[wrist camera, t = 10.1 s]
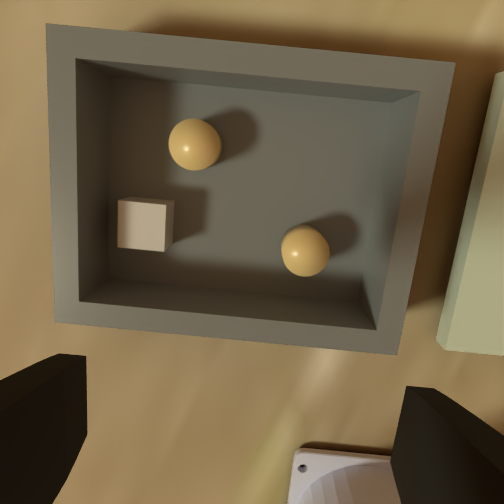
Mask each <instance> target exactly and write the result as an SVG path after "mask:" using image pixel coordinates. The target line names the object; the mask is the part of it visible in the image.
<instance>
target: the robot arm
mask: <svg viewBox="0 0 504 504" xmlns="http://www.w3.org/2000/svg"><path fill="white" fill-rule="evenodd" d="M86 436H87V376H86V356H81V355H70V354H56V355H54V356H51V357H49V358H46V359H44V360H42V361H40V362H37V363H35V364H33V365H31V366H29V367H27V368H25V369H23V370H21V371H19V372H16V373H14V374H12V375H10V376H8V377H6V378H4V379H2V380H0V504H52V503H53V502H54V500H55V498H56V497H57V495H58V493H59V492H60V490H61V488H62V487H63V485H64V483H65V481H66V480H67V478H68V476H69V474H70V471H71V469H72V467H73V465H74V463H75V461H76V459H77V456H78V454H79V452H80V450H81V447H82V445H83V443H84V441H85V438H86ZM302 464H304V465H306V466H304V467H300V465H302ZM287 504H504V435H502V434H501V433H499V432H498V431H496V430H495V429H494V428H492V427H491V426H489V425H488V424H486V423H485V422H484V421H482V420H481V419H479V418H478V417H477V416H475V415H474V414H472V413H471V412H469V411H468V410H467V409H465V408H464V407H462V406H461V405H459V404H458V403H456V402H455V401H453V400H452V399H450V398H449V397H447V396H446V395H444V394H442V393H441V392H439V391H437V390H436V389H434V388H424V387H413V386H406V390H405V395H404V400H403V404H402V409H401V413H400V418H399V423H398V427H397V432H396V436H395V441H394V446H393V450H392V455H391V456H383V455H373V454H362V453H352V452H342V451H331V450H321V449H311V448H300V449H298V450H297V451H296V452H295V454H294V459H293V466H292V473H291V480H290V487H289V494H288V501H287Z"/></svg>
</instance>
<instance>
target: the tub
mask: <svg viewBox="0 0 504 504" xmlns="http://www.w3.org/2000/svg"><path fill="white" fill-rule="evenodd" d="M46 52H47V86H48V119H49V153H50V186H51V219H52V253H53V286H54V319H55V322H56V323H67V324H77V325H87V326H98V327H108V328H119V329H129V330H139V331H150V332H160V333H170V334H181V335H191V336H201V337H212V338H222V339H233V340H243V341H253V342H264V343H274V344H284V345H295V346H305V347H315V348H326V349H336V350H347V351H357V352H367V353H378V354H388V355H397V354H398V349H399V344H400V339H401V334H402V329H403V324H404V319H405V314H406V309H407V304H408V299H409V294H410V289H411V284H412V279H413V274H414V269H415V264H416V259H417V254H418V249H419V244H420V239H421V234H422V229H423V224H424V219H425V214H426V209H427V204H428V199H429V195H430V190H431V185H432V180H433V175H434V170H435V165H436V160H437V155H438V150H439V145H440V140H441V135H442V130H443V125H444V120H445V115H446V110H447V105H448V100H449V95H450V90H451V85H452V80H453V75H454V70H455V65H456V62H445V61H435V60H425V59H414V58H404V57H393V56H383V55H372V54H362V53H351V52H341V51H330V50H320V49H309V48H299V47H289V46H278V45H268V44H257V43H247V42H236V41H226V40H215V39H205V38H194V37H184V36H173V35H163V34H153V33H142V32H132V31H121V30H111V29H100V28H90V27H79V26H69V25H58V24H48V23H46Z"/></svg>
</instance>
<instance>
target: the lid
mask: <svg viewBox="0 0 504 504" xmlns="http://www.w3.org/2000/svg"><path fill="white" fill-rule="evenodd" d="M436 341H437V342H438V343H439V344H440V345H441V346H442V347H443V348H444V349H445V350H449V351H460V352H470V353H481V354H491V355H502V356H504V71H502V72H499V73H496V74H495V78H494V82H493V87H492V91H491V96H490V100H489V105H488V109H487V114H486V118H485V123H484V127H483V131H482V136H481V140H480V145H479V149H478V154H477V158H476V163H475V167H474V172H473V176H472V180H471V185H470V189H469V194H468V198H467V203H466V207H465V212H464V216H463V221H462V225H461V230H460V234H459V238H458V243H457V247H456V252H455V256H454V261H453V265H452V270H451V274H450V279H449V283H448V288H447V292H446V296H445V301H444V305H443V310H442V314H441V319H440V323H439V328H438V332H437V337H436Z"/></svg>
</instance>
